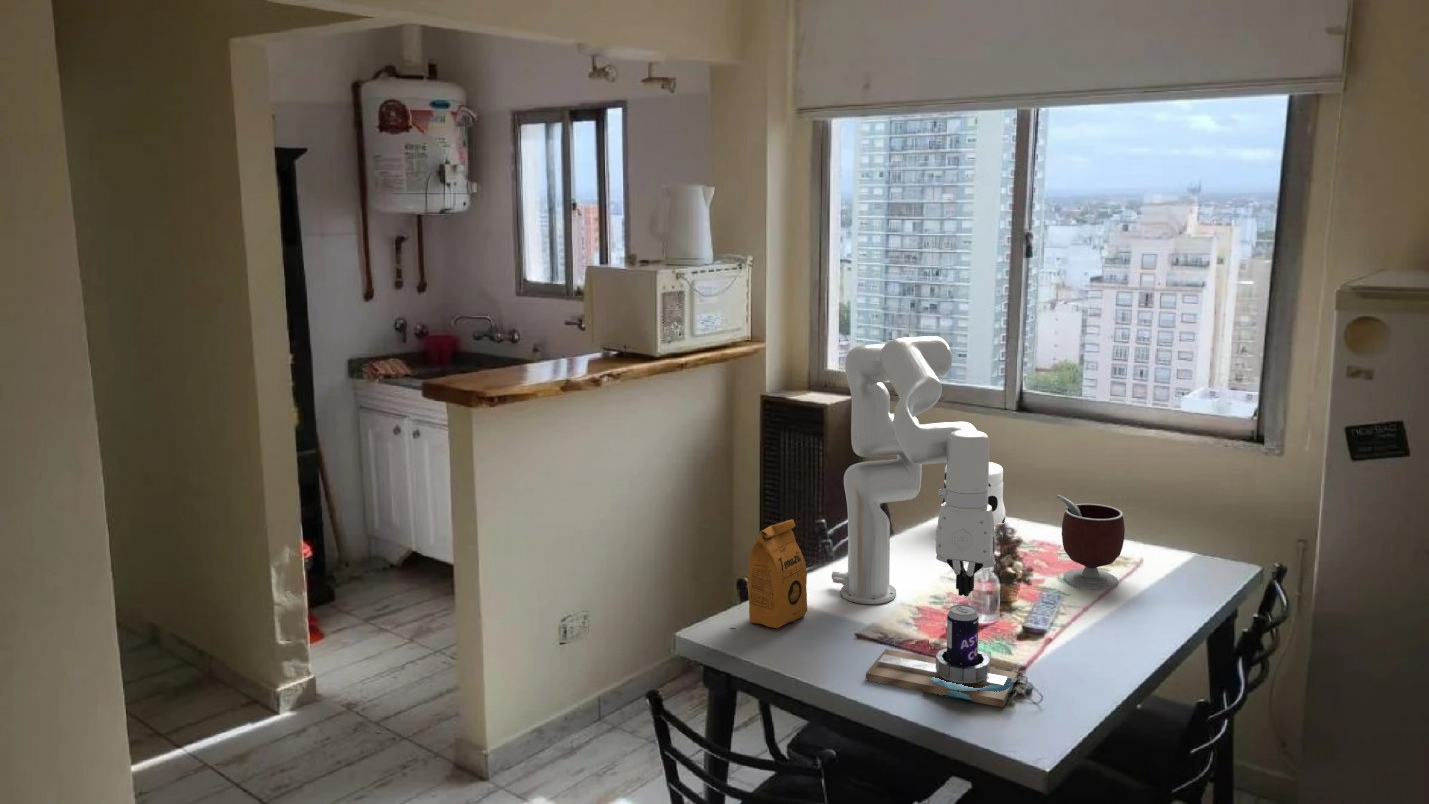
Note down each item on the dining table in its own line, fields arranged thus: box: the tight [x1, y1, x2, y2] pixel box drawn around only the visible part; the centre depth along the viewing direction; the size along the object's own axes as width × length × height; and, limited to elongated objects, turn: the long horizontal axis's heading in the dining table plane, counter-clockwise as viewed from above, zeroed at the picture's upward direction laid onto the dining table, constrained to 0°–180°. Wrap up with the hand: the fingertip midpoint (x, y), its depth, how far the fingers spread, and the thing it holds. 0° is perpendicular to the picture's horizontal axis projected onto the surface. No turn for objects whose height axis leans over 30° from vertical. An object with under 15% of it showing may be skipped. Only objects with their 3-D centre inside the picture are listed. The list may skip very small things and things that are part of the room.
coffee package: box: [747, 518, 808, 629], centre depth 230 cm, size 10×12×22 cm
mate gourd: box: [1056, 494, 1126, 591], centre depth 250 cm, size 16×14×20 cm
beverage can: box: [946, 604, 979, 667], centre depth 199 cm, size 6×6×12 cm
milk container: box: [941, 461, 1007, 526], centre depth 288 cm, size 17×17×18 cm
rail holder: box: [878, 647, 1007, 687], centre depth 201 cm, size 24×10×4 cm, turn 63°
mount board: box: [865, 648, 1018, 708], centre depth 202 cm, size 26×12×2 cm, turn 63°
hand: (964, 593), depth 196 cm, fingers closed
